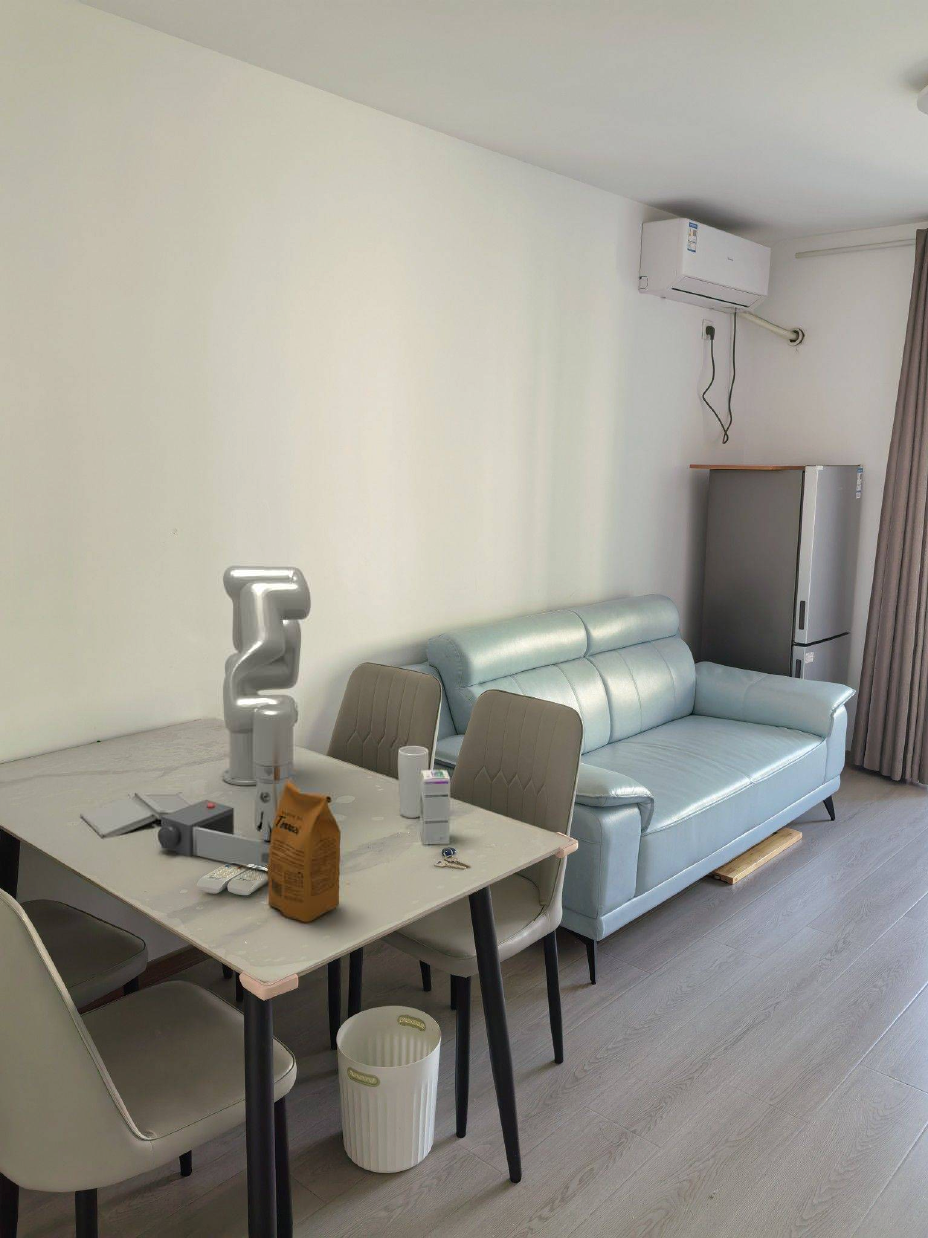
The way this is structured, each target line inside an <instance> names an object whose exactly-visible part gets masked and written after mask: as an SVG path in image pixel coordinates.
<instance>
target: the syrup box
mask: <svg viewBox="0 0 928 1238" xmlns="http://www.w3.org/2000/svg"><path fill="white" fill-rule="evenodd" d="M450 823H451V778H450V776H449V773H448V770H446V769H428V770H424V771H421V802H420V817H419V836H420V839H421V843H422V845H424V846H425V845H426V846H432V845H431V844H441V845H449V844H450V830H451V829H450ZM448 843H449V844H448ZM428 844H430V845H428Z"/></svg>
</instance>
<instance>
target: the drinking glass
mask: <svg viewBox="0 0 928 1238" xmlns="http://www.w3.org/2000/svg"><path fill="white" fill-rule="evenodd" d="M397 756H398V757H397V773H398V775H397V776H398V787H399V789H398V790H399V791H398V792H399V793H398V794H399V814H400V815H401V816H402V817H404V818H409V819H413V818H415V819H416V818H420V802H421V771H424V770H429V749H428V748H426V747H423V746H418V745H406V746H402V747H401V748H398V755H397Z"/></svg>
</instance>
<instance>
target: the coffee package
mask: <svg viewBox="0 0 928 1238" xmlns="http://www.w3.org/2000/svg"><path fill="white" fill-rule="evenodd" d="M331 802H332V797H331V796H329V795H326V794H325V795H324V794H316V793H315V794H313V793H305V792H304V793H303V792H301V791H300V790H299V789H298V788H297V787H296V785H294V784H293V782H292V783H291V782H290V781H289V782H287V783H286V784H285V787H284V791H283V794H282V796H281V799H280V803H279V807H278V810H277V813H276V816H275V820H274V824H273V827H272V833H271V842H270V850H269V860H268V872H267V876H268V906H269V907H273V908H276V909H278V910H280V912H281V913H282V914H283V915H284V916H285V917H287V918H289V919H293V920H298V921H301V922H303V923H309V922H312V921H314V920H315V919H317V918H319V917H320V916H322V915H323V914H325V913H326V912H330V911H332V910H335V908H336V907H338V906H339V905H340V873H341V871H340V862H341V833H342V832H341V830H340V827H339V825H338V822H337V821H336V819H335V817H334V815H333V813H332V811H331V809H330V807H329V804H330V803H331Z"/></svg>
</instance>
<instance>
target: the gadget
mask: <svg viewBox="0 0 928 1238" xmlns="http://www.w3.org/2000/svg"><path fill="white" fill-rule="evenodd" d="M196 803H197V802H195V801H193V800H192V799H191V798H190V797H188V796H187V795H186V794H184V793H183V792H181V791H175V792H174V791H173V792H172V791H171V792H170V791H169V792H167V791H166V792H165V791H164V792H163V791H162V792H158V791H157V792H134V795H133V796H132V795H131V794H126V795H123V796H121V797H119V798H116V799H114V800H111V801H108V802H105V803H104V804H101V805H98V806H95V807H93V808H91V809H87V810H85V811H83V812H81V813H80V817H81V818H82V820H83V821H85V822H86V823H87V825H89V826H90V827H91V828H92V829H93V831H95V833H97V834H98V835H99V836H100V837H101V838H102V839H106V838H107V839H108V838H109V839H110V838H113V837H118V836H120V835H123V834H126V833H128V832H130V831H132V830H135V829H137V828H138V829H139V828H140V827H142V826H144V825H148V824H150V823H151V822H153V821H156V820H161V816H163V815H166V814H169V813H171V812H174V811H177V810H179V809H182V808H185V807H188V806H190V805H193V804H196Z"/></svg>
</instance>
